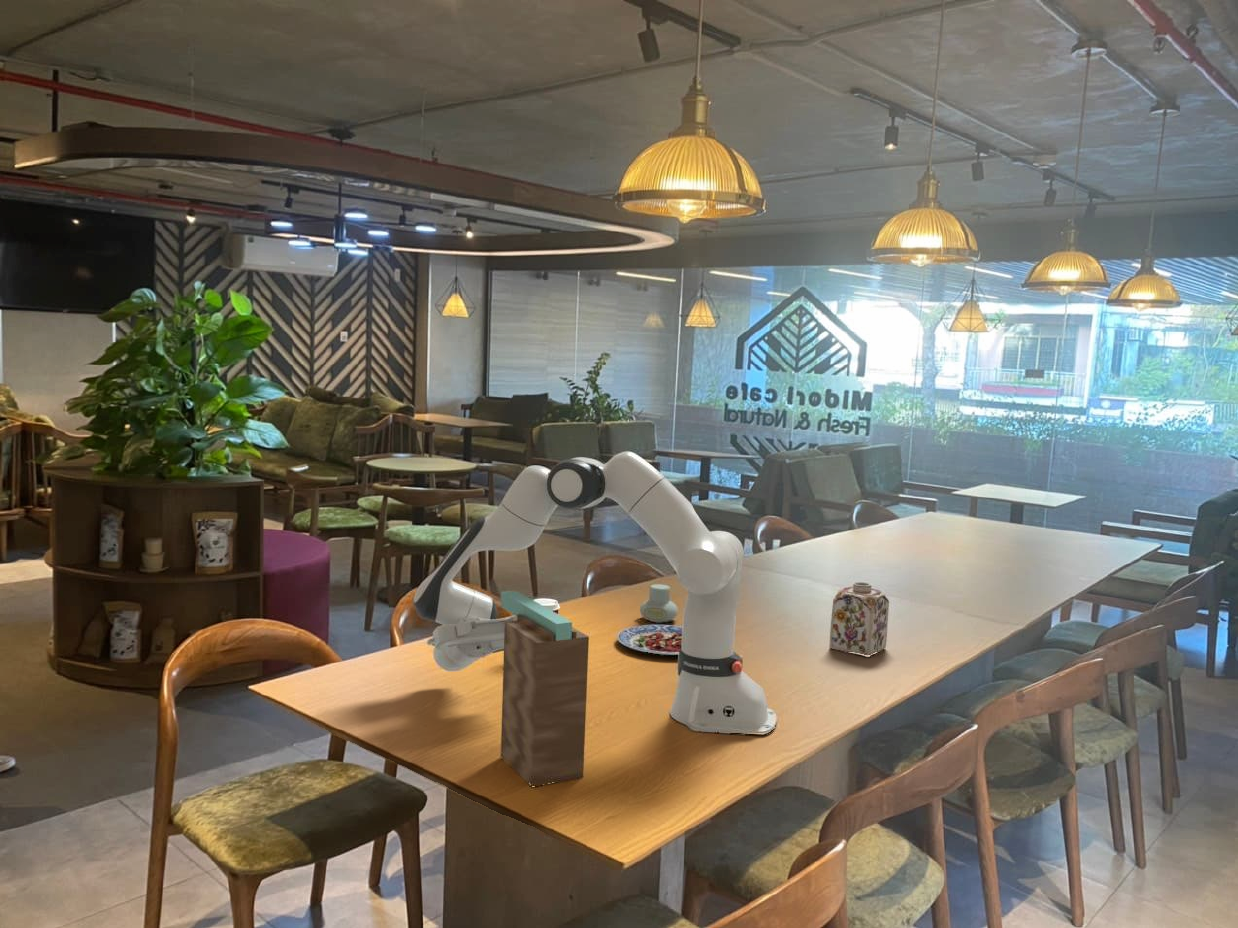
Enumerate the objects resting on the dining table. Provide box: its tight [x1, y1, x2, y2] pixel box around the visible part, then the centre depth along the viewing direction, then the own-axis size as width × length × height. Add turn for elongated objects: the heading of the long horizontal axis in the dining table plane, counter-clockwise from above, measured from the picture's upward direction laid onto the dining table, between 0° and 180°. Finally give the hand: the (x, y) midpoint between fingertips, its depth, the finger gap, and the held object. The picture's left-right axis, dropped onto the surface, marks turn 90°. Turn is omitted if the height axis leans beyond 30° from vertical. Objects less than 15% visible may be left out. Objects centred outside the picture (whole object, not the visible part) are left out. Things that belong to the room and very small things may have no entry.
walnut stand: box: [500, 614, 590, 786], centre depth 175 cm, size 14×10×27 cm
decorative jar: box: [828, 581, 890, 655], centre depth 258 cm, size 12×12×18 cm
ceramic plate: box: [616, 624, 682, 656], centre depth 254 cm, size 26×26×3 cm
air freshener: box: [639, 583, 679, 624], centre depth 278 cm, size 11×8×10 cm
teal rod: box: [500, 590, 573, 641], centre depth 178 cm, size 24×3×3 cm, turn 30°
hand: (494, 622), depth 194 cm, fingers open, 8 cm apart
